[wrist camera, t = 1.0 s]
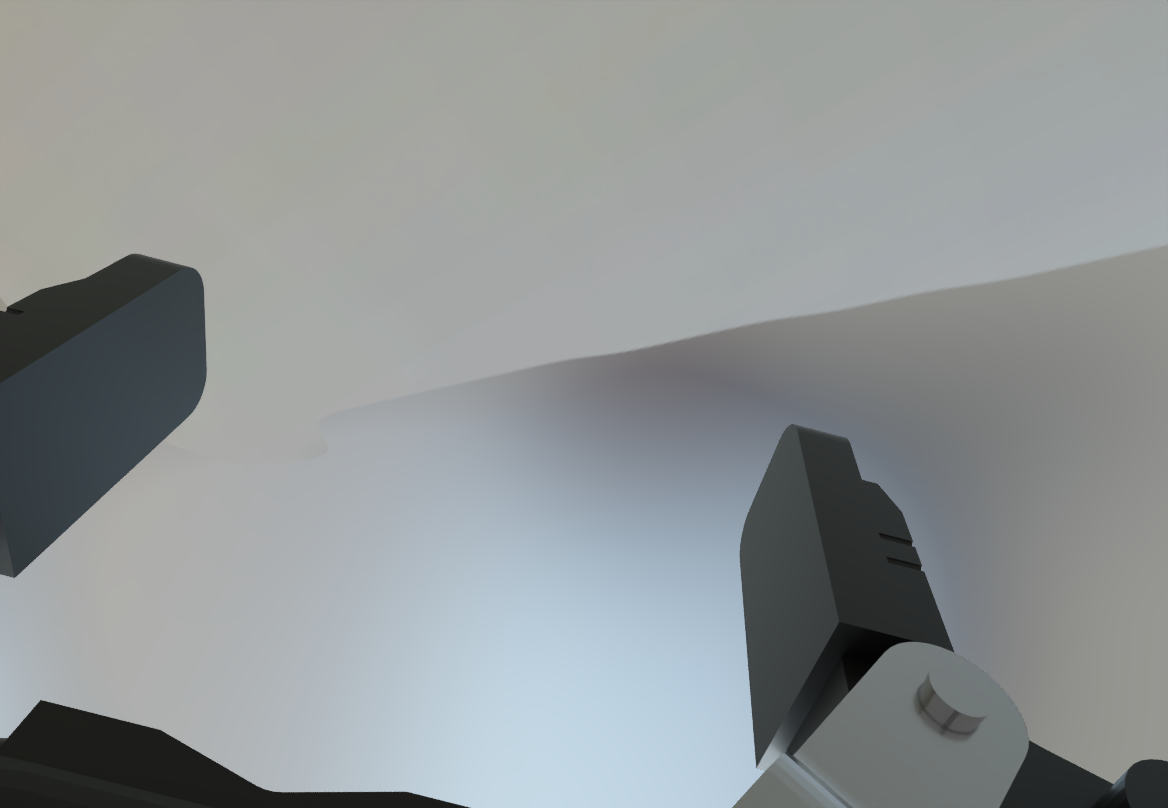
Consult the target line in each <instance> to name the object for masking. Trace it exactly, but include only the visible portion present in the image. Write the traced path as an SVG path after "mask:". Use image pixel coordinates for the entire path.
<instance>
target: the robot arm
mask: <svg viewBox="0 0 1168 808" xmlns="http://www.w3.org/2000/svg"><path fill="white" fill-rule="evenodd" d="M206 371H207V368H206V339H205V310H204V288H203V282H202V279H201V276H200V274H199V273H198V272H197V271H196V270H195V269H193V268H191V267H187V266H183V265H179V264H175V263H171V262H168V261H164V260H160V259H156V258H152V257H148V256H144V255H140V254H131V255H128V256H126V257H124V258H122V259H120V260H119V261H117V262H115V263H113V264H111V265H109V266H108V267H106V268H104V269H102V270H100V271H98V272H97V273H95V274H93V275H91V276H89V277H87V278H85V279H81V280H77V281H73V282H69V283H65V284H61V285H57V286H53V287H49V288H45V289H41V290H39V291H37V292H35V293H33V294H31V295H29V296H27V297H25V298H23V299H22V300H20V301H18V302H16V303H14V304H12V305H10V306H8V307H7V310H6V312H3V311H0V574H2V575H6V576H10V577H13V578H15V577H16V576H17V575H18V574H19V573H21V572H22V571H23V570H24V569H25V568H26V567H27V566H28V565H29V564H30V563H31V562H32V561H33V560H34V559H36V557H38V556H39V555H40V554H41V553H42V552H43V551H44V550H45V549H46V548H47V547H49V546H50V545H51V544H52V543H53V542H54V541H55V540H56V539H57V538H58V537H59V536H60V535H61V534H62V533H64V532H65V531H66V530H67V529H68V528H69V527H70V526H71V525H72V524H73V523H74V522H75V521H77V520H78V519H79V518H80V517H81V516H82V515H83V514H84V513H85V512H86V511H87V510H88V509H89V508H90V507H91V506H93V505H94V504H95V503H96V502H97V501H98V500H99V499H100V498H101V497H102V496H103V495H105V494H106V492H108V491H109V490H110V489H111V488H112V487H113V486H114V485H115V484H116V483H117V482H118V481H120V479H122V478H123V477H124V476H125V475H126V474H127V473H128V472H129V471H130V470H131V469H133V468H134V467H135V466H136V465H137V464H138V463H139V462H140V461H141V460H142V459H143V458H144V457H145V456H147V455H148V454H149V453H150V452H151V451H152V450H153V449H154V448H155V447H156V446H157V445H158V444H159V443H160V442H162V441H163V440H164V439H165V438H166V437H167V436H168V435H169V434H170V433H171V432H172V431H173V430H175V429H176V428H177V427H178V426H179V425H180V424H181V423H182V422H183V421H184V420H185V419H186V418H187V417H188V416H189V415H190V414H191V413H192V412H193V411H194V409H195V408H196V406H197V404H198V402H199V400H200V398H201V396H202V393H203V390H204V386H205V382H206ZM912 542H913V541H912V538H911V535H910V533H909V530H908V527H907V524H906V522H905V519H904V516H903V514H902V512H901V511H900V509H899V508H898V507H897V506H896V505H895V504H894V502H893V501H892V500H891V499H890V498H889V497H888V495H887V494H886V493H885V492H884V491H883V490H882V489H881V488H880V486H879V485H878V484H876V483H872V482H868V481H864V480H862V479H861V476H860V473H859V470H858V467H857V463H856V460H855V457H854V454H853V451H852V448H851V445H850V442H849V441H848V439H847V438H844V437H841V436H837V435H833V434H829V433H825V432H821V431H818V430H814V429H810V428H805V427H802V426H798V425H794V424H791V425H790V426H788V427H787V428H786V430H785V431H784V433H783V434H782V437H781V439H780V441H779V443H778V445H777V447H776V450H775V452H774V454H773V457H772V459H771V462H770V464H769V466H768V468H767V471H766V473H765V475H764V478H763V480H762V482H761V484H760V487H759V489H758V491H757V494H756V496H755V498H754V501H753V503H752V505H751V508H750V510H749V512H748V515H747V518H746V521H745V524H744V528H743V532H742V538H741V544H740V567H741V579H742V592H743V605H744V617H745V629H746V643H747V654H748V667H749V680H750V692H751V705H752V718H753V731H754V743H755V756H756V768H758V769H762V770H766V771H765V772H764V773H763V774H762V776H760V778H759V779H758V780H757V781H756V782H755V783H754V784H753V785H752V787H751V788H750V789H749V790H748V791H747V792H746V793H745V794H744V795H743V796H742V797H741V798H740V800H739V801H738V802H737V803H736V804H735V805H734V806H733V807H732V808H1168V762H1167V761H1163V760H1153V759H1150V760H1142V761H1139V762H1137V763H1135V764H1133V765H1132V766H1131V767H1130V768H1129V769H1128V770H1127V771H1126V772H1125V773H1124V774H1123V775H1122V777H1120V779H1118V780H1117V782H1116V783H1115V784H1112V783H1110V782H1108V781H1106V780H1104V779H1102V778H1100V777H1098V776H1096V775H1094V774H1092V773H1090V772H1089V771H1087V770H1084V769H1083V768H1081V767H1079V766H1077V765H1075V764H1073V763H1071V762H1069V761H1067V760H1065V759H1063V758H1061V757H1059V756H1057V755H1055V754H1053V753H1051V752H1050V751H1047V750H1046V749H1044V748H1042V747H1040V746H1038V745H1036V744H1035V743H1033V742H1031V741H1029V737H1028V732H1027V727H1026V725H1025V722H1024V719H1023V717H1022V715H1021V713H1020V712H1019V710H1018V708H1017V706H1016V705H1015V704H1014V702H1013V701H1012V699H1011V698H1010V697H1009V695H1008V694H1007V693H1006V692H1005V691H1004V690H1003V688H1002V687H1001V686H1000V685H999V684H998V683H997V682H996V681H995V680H993V679H992V678H991V677H990V676H989V675H988V674H987V673H986V672H984V671H983V670H981V669H980V668H979V667H978V666H976V665H975V664H973V663H971V662H970V661H969V660H967V659H965V658H963V657H962V656H960V655H958V654H956V653H954V650H953V647H952V645H951V642H950V640H949V637H948V634H947V632H946V629H945V626H944V623H943V621H942V618H941V615H940V613H939V610H938V608H937V605H936V602H935V599H934V597H933V594H932V591H931V589H930V586H929V583H928V581H927V578H926V576H925V573H924V572H923V571H921V566H922V565H921V562H920V559H919V557H918V554H917V551H916V548H915V547H912ZM0 808H469V807H465V806H461V805H457V804H453V803H449V802H445V801H441V800H437V799H433V798H429V797H425V796H421V795H417V794H413V793H409V792H298V793H297V792H291V793H290V792H284V793H283V792H272V791H269V790H264V789H262V788H260V787H258V786H256V785H254V784H252V783H251V782H249V781H247V780H245V779H244V778H242V777H240V776H239V775H237V774H235V773H233V772H232V771H230V770H228V769H227V768H225V767H223V766H221V765H220V764H218V763H216V762H214V761H213V760H211V759H209V758H207V757H206V756H204V755H202V754H201V753H199V752H197V751H196V750H194V749H192V748H190V747H189V746H187V745H185V744H183V743H181V742H180V741H178V740H177V739H175V738H173V737H171V736H169V735H168V734H166V733H165V732H163V731H161V730H158V729H154V728H150V727H146V726H142V725H138V724H134V723H130V722H126V721H122V720H118V719H114V718H110V717H106V716H102V715H98V714H94V713H90V712H86V711H82V710H78V709H74V708H70V707H66V706H62V705H58V704H54V703H50V702H46V701H42V700H40V702H39V703H38V704H37V705H36V706H35V707H34V709H33V710H32V711H31V712H30V713H29V714H28V715H27V717H26V718H25V719H24V720H23V721H22V722H21V724H20V725H19V726H18V727H17V728H16V729H15V730H14V732H13V733H12V734H11V735H10V736H9V738H0Z"/></svg>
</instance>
